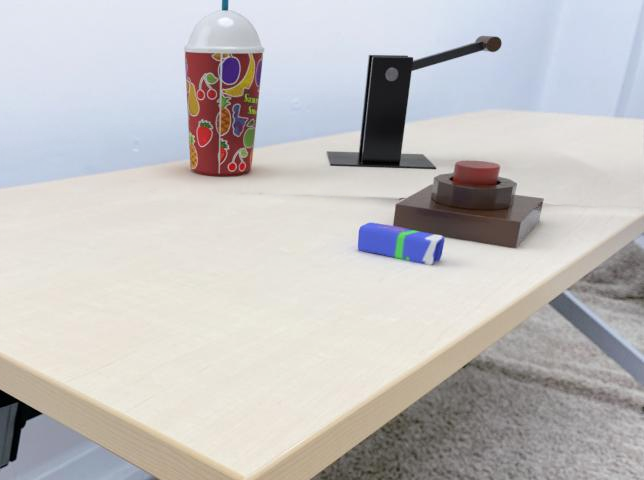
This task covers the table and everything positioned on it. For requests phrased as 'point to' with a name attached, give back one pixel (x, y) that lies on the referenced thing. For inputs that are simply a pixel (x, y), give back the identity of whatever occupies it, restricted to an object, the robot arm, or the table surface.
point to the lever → (460, 51)
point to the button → (476, 173)
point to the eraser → (400, 243)
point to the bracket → (384, 118)
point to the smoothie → (222, 92)
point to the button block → (470, 211)
